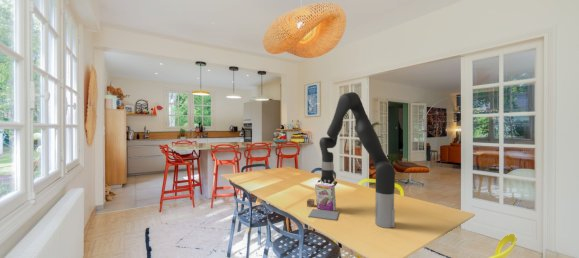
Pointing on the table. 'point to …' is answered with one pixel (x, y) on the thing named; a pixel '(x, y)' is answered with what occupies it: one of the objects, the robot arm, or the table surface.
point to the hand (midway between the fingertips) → (327, 195)
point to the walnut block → (310, 203)
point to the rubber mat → (324, 214)
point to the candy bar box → (325, 196)
